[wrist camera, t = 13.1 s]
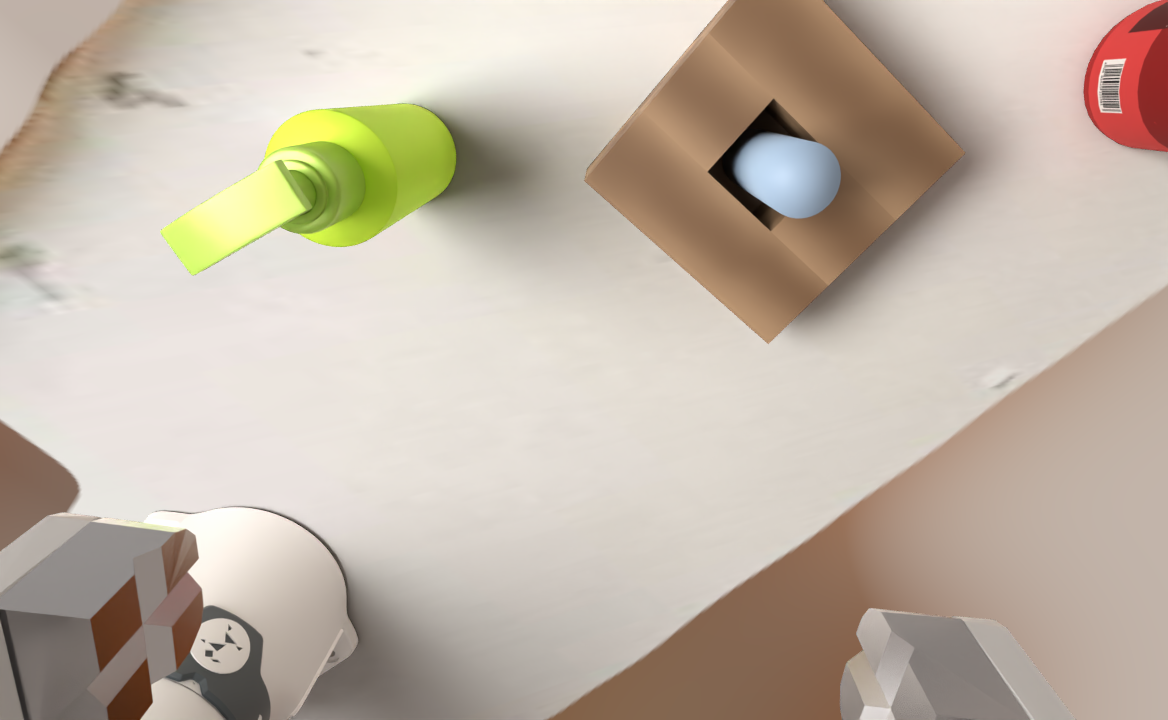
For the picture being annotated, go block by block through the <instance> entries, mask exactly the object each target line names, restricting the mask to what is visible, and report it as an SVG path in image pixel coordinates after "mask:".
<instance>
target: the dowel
mask: <svg viewBox="0 0 1168 720" xmlns="http://www.w3.org/2000/svg"><path fill="white" fill-rule="evenodd" d="M722 162H723V168H724V171H725V174H726V175H727V177H728V178H729V179H730V180H731V181H732V182H733V183H734V184H736V185H737V186H739V187H741V188H742V189H744V190H745V191H747V192H748V193H750V194H751V195H753V196H754V197H756V198H757V199H759V200H761V201H762V202H764V203H765V204H767V205H768V206H770V207H771V208H773V209H774V210H776V211H777V212H779V213H781V214H782V215H784V216H787V217H790V218H807V217H811V216H813V215H816V214H818V213H819V212H821V211H822V210H824V209H825V208H826V207H827V206H828V205H829V204H830V203H831V202H832V201H833V199H834V197H835V196H836V194H837V192H838V189H839V186H840V181H841V170H840V166H839V162H838V160H837V158H836V156H835V155H834V154H833V152H832V151H831V150H830V149H828V148H827V147H826V146H824V145H822V144H820V143H817V142H812V141H808V140H804V139H799V138H795V137H790V136H786V135H782V134H777V133H773V132H768V131H764V130H760V129H747V130H745V131H744V132H743V133H742V134H741V135H740V136H739V137H738V138H737V139H736V141H735V142H734V143H733V144H732V145H731V146H730V147H729V148H728V149H727V151H726V152H725V153H724V154H723V161H722Z"/></svg>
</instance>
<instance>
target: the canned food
mask: <svg viewBox="0 0 1168 720" xmlns="http://www.w3.org/2000/svg"><path fill="white" fill-rule="evenodd" d="M1084 100H1085V106H1086V109H1087V112H1088V115H1089V117H1090V118H1091V120H1092V122H1093V123H1094V125H1095V126H1096V127H1097V128H1098V129H1099V130H1100V131H1101V132H1102V133H1103V134H1104V135H1106V136H1107V137H1109V138H1110V139H1112V140H1114V141H1115V142H1117V143H1119V144H1121V145H1125V146H1128V147H1131V148H1139V149H1148V150H1157V151H1165V152H1168V0H1161V1H1158V2H1155V3H1152V4H1149V5H1146V6H1145V7H1143V8H1141V9H1139V10H1137V11H1136V12H1134V13H1132V14H1131V15H1129V16H1127V17H1126V18H1124V19H1123V20H1122V21H1121V22H1119V23H1118V24H1117V25H1115V26H1114V27H1113V28H1112V29H1111V30H1110V31H1109V32H1108V33H1107V35H1106V36H1105V37H1104V38H1103V39H1102V41H1101V42H1100V44H1099V45H1098V47H1097V48H1096V50H1095V51H1094V53H1093V56H1092V58H1091V60H1090V62H1089V64H1088V68H1087V72H1086V75H1085V81H1084Z"/></svg>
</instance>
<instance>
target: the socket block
mask: <svg viewBox="0 0 1168 720" xmlns="http://www.w3.org/2000/svg"><path fill="white" fill-rule="evenodd" d="M747 129H760V130H764V131H768V132H773V133H777V134H782V135H786V136H790V137H795V138H799V139H804V140H808V141H812V142H817V143H820V144H822V145H824V146H826V147H827V148H828V149H830V150H831V151H832V152H833V154H834V155H835V156H836V158H837V160H838V162H839V166H840V170H841V181H840V186H839V189H838V192H837V194H836V196H835V197H834V199H833V201H832V202H831V203H830V204H829V205H828V206H827V207H826V208H825V209H824V210H822V211H821V212H819V213H818V214H816V215H813V216H811V217H807V218H790V217H787V216H784V215H782V214H781V213H779V212H777V211H776V210H774V209H773V208H771V207H770V206H768V205H767V204H765V203H764V202H762V201H761V200H759V199H757V198H756V197H754V196H753V195H751V194H750V193H748V192H747V191H745V190H744V189H742V188H741V187H739V186H737V185H736V184H734V183H733V182H732V181H731V180H730V179H729V178H728V177H727V175H726V174H725V171H724V168H723V162H722V161H723V154H724V153H725V152H726V151H727V149H728V148H729V147H730V146H731V145H732V144H733V143H734V142H735V141H736V139H737V138H738V137H739V136H740V135H741V134H742V133H743V132H744V131H745V130H747ZM964 154H965V152H964V151H963V150H962V149H961V147H960V146H959V145H958V144H957V143H956V142H955V141H954V140H953V139H952V138H951V137H950V136H949V135H948V134H947V133H946V131H945V130H944V129H943V128H942V127H941V126H940V125H939V124H938V123H937V122H936V121H935V120H934V119H933V118H932V116H931V115H930V114H929V113H928V112H927V111H926V110H925V109H924V108H923V107H922V106H921V105H920V104H919V103H918V102H917V100H916V99H915V98H914V97H913V96H912V95H911V94H910V93H909V92H908V91H907V90H906V89H905V88H904V87H903V86H902V84H901V83H900V82H899V81H898V80H897V79H896V78H895V77H894V76H893V75H892V74H891V73H890V72H889V71H888V70H887V68H886V67H885V66H884V65H883V64H882V63H881V62H880V61H879V60H878V59H877V58H876V57H875V56H874V55H873V54H872V52H871V51H870V50H869V49H868V48H867V47H866V46H865V45H864V44H863V43H862V42H861V41H860V40H859V39H858V38H857V36H856V35H855V34H854V33H853V32H852V31H851V30H850V29H849V28H848V27H847V26H846V25H845V24H844V23H843V21H842V20H841V19H840V18H839V17H838V16H837V15H836V14H835V13H834V12H833V11H832V10H831V9H830V8H829V7H828V5H827V4H826V3H825V2H824V1H823V0H728V1H727V2H726V4H725V5H724V6H723V7H722V8H721V9H720V11H719V12H718V13H717V14H716V15H715V17H714V18H713V19H712V20H711V21H710V23H709V24H708V25H707V26H706V27H705V29H704V30H703V31H702V32H701V33H700V35H699V36H698V37H697V38H696V39H695V41H694V42H693V43H692V44H691V45H690V46H689V48H688V49H687V50H686V51H685V52H684V54H683V55H682V56H681V57H680V58H679V60H678V61H677V62H676V63H675V64H674V66H673V67H672V68H671V69H670V70H669V72H668V73H667V74H666V75H665V76H664V78H663V79H662V80H661V81H660V82H659V83H658V85H657V86H656V87H655V88H654V89H653V91H652V92H651V93H650V94H649V95H648V97H647V98H646V99H645V100H644V101H643V103H642V104H641V105H640V106H639V107H638V109H637V110H636V111H635V112H634V113H633V114H632V116H631V117H630V118H629V119H628V120H627V122H626V123H625V124H624V125H623V126H622V128H621V129H620V130H619V131H618V132H617V134H616V135H615V136H614V137H613V138H612V140H611V141H610V142H609V143H608V144H607V146H606V147H605V148H604V149H603V150H602V151H601V153H600V154H599V155H598V156H597V157H596V159H595V160H594V161H593V162H592V163H591V165H590V166H589V167H588V168H587V171H586V175H585V180H584V181H585V182H586V183H587V184H588V185H590V186H591V187H592V188H593V189H594V190H595V191H596V192H597V193H599V194H600V195H601V196H602V197H603V198H604V199H605V200H606V201H608V202H609V203H610V204H611V205H612V206H613V207H614V208H615V209H617V210H618V211H619V212H620V213H621V214H622V215H623V216H624V217H626V218H627V219H628V220H629V221H630V222H631V223H632V224H634V225H635V226H636V227H637V228H638V229H639V230H640V231H641V232H643V233H644V234H645V235H646V236H647V237H648V238H649V239H650V240H652V241H653V242H654V243H655V244H656V245H657V246H658V247H659V248H661V249H662V250H663V251H664V252H665V253H666V254H667V255H668V256H670V257H671V258H672V259H673V260H674V261H675V262H676V263H677V264H679V265H680V266H681V267H682V268H683V269H684V270H685V271H686V272H688V273H689V274H690V275H691V276H692V277H693V278H694V279H696V280H697V281H698V282H699V283H700V284H701V285H702V286H703V287H705V288H706V289H707V290H708V291H709V292H710V293H711V294H712V295H714V296H715V297H716V298H717V299H718V300H719V301H720V302H721V303H723V304H724V305H725V306H726V307H727V308H728V309H729V310H730V311H732V312H733V313H734V314H735V315H736V316H737V317H738V318H739V319H741V320H742V321H743V322H744V323H745V324H746V325H747V326H748V327H750V328H751V329H752V330H753V331H754V332H755V333H756V334H758V335H759V336H760V337H761V338H762V339H763V340H764V341H765V342H767V343H768V344H769V343H770V342H771V341H772V340H773V339H774V338H775V337H776V336H777V335H778V334H779V333H780V332H781V331H782V330H783V329H784V328H785V327H786V326H787V325H788V324H789V323H790V322H791V321H793V320H794V319H795V318H796V317H797V316H798V315H799V314H800V313H801V312H802V311H803V310H804V309H805V308H806V307H807V306H808V305H809V304H810V303H811V302H812V301H813V300H814V299H815V298H816V297H817V296H818V295H819V294H820V293H821V292H822V291H824V290H825V289H826V288H827V287H828V286H829V285H830V284H831V283H832V282H833V281H834V280H835V279H836V278H837V277H838V276H839V275H840V274H841V273H842V272H843V271H844V270H845V269H846V268H847V267H848V266H849V265H850V264H851V263H852V262H853V261H855V260H856V259H857V258H858V257H859V256H860V255H861V254H862V253H863V252H864V251H865V250H866V249H867V248H868V247H869V246H870V245H871V244H872V243H873V242H874V241H875V240H876V239H877V238H878V237H879V236H880V235H881V234H882V233H883V232H884V231H886V230H887V229H888V228H889V227H890V226H891V225H892V224H893V223H894V222H895V221H896V220H897V219H898V218H899V217H900V216H901V215H902V214H903V213H904V212H905V211H906V210H907V209H908V208H909V207H910V206H911V205H912V204H913V203H914V202H916V201H917V200H918V199H919V198H920V197H921V196H922V195H923V194H924V193H925V192H926V191H927V190H928V189H929V188H930V187H931V186H932V185H933V184H934V183H935V182H936V181H937V180H938V179H939V178H940V177H941V176H942V175H943V174H944V173H945V172H947V171H948V170H949V169H950V168H951V167H952V166H953V165H954V164H955V163H956V162H957V161H958V160H959V159H960V158H961V157H962V156H963V155H964Z"/></svg>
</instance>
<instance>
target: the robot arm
mask: <svg viewBox="0 0 1168 720" xmlns="http://www.w3.org/2000/svg"><path fill="white" fill-rule="evenodd" d="M856 634H857V637H858V639H859V641H860V643H861V646H862V648H863V650H862V651H861V652H860V653H859V654H857V655H856V656H855V657H853V658H852V659H850V660H849V661H848V662H847V663H846V666H845V670H844V673H843V677H842V680H841V684H840V710H841V715H842V720H1076V719H1075V718H1074V716H1073V715H1072V714H1071V712H1070V711H1069V710H1068V708H1067V707H1066V706H1065V704H1064V703H1063V702H1062V701H1061V699H1060V698H1059V696H1058V695H1057V694H1056V692H1055V691H1054V690H1053V689H1052V687H1051V686H1050V684H1049V683H1048V682H1047V680H1046V679H1045V678H1044V676H1043V675H1042V674H1041V672H1040V671H1039V670H1038V669H1037V667H1036V666H1035V665H1034V663H1033V662H1032V661H1031V659H1030V658H1029V657H1028V655H1027V654H1026V653H1025V651H1024V650H1023V649H1022V647H1021V646H1020V645H1019V643H1018V642H1017V641H1016V639H1015V638H1014V637H1013V636H1012V634H1011V633H1010V631H1009V630H1008V629H1007V628H1006V627H1005V626H1004V625H1002V624H1000V623H999V622H997V621H996V620H992V619H981V618H969V617H959V616H952V617H946V616H937V615H928V614H919V613H910V612H900V611H891V610H882V609H873V608H870V609H869V610H868V611H867V612H866V613H865V614H864V615H863V617H862V619H861V621H860V624H859V627H858V630H857V633H856ZM357 644H358V637H357V634H356V631H355V629H354V627H353V625H352V623H351V621H350V619H349V618H348V615H347V594H346V586H345V582H344V578H343V575H342V572H341V570H340V568H339V566H338V564H337V562H336V561H335V559H334V557H333V556H332V555H331V553H330V552H329V551H328V549H327V548H326V547H325V546H324V545H323V544H322V543H321V542H320V541H319V540H318V539H317V538H316V537H315V536H313V535H312V534H311V533H310V532H308V531H307V530H305V529H304V528H302V527H301V526H299V525H298V524H296V523H294V522H292V521H290V520H288V519H286V518H284V517H281V516H279V515H276V514H273V513H270V512H267V511H263V510H258V509H252V508H243V507H228V508H219V509H214V510H210V511H206V512H202V513H196V514H184V513H177V512H168V511H158V512H153V513H151V514H150V515H149V516H148V517H147V518H146V519H145V521H144V522H143V523H142V522H135V521H128V520H120V519H113V518H106V517H105V518H100V517H95V516H87V515H79V514H72V513H64V512H63V513H59V514H54V515H49V516H47V517H45V518H44V519H43V520H41V521H40V522H39V523H38V524H36V525H35V526H33V527H32V528H31V529H29V530H28V531H27V532H25V533H24V534H23V535H22V536H20V537H19V538H18V539H16V540H15V541H14V542H12V543H11V544H10V545H8V546H7V547H6V548H4V549H3V550H2V551H0V720H288V719H289V718H290V717H291V716H295V715H296V714H297V712H298V711H299V710H300V708H301V707H302V705H303V703H304V702H305V700H306V698H307V696H308V694H309V693H310V691H311V689H312V687H313V685H314V684H315V682H316V680H317V678H318V677H319V676H320V675H322V674H323V673H325V672H326V671H328V670H330V669H331V668H333V667H334V666H336V665H337V664H339V663H340V662H342V661H343V660H345V659H346V658H348V657H349V656H350V655H351V654H352V653H353V651H354V650H355V648H356V646H357Z"/></svg>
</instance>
